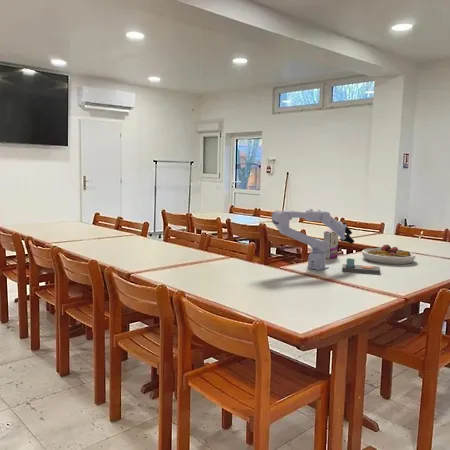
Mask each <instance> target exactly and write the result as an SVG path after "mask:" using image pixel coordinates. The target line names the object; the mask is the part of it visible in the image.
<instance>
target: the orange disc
mask: <svg viewBox="0 0 450 450" xmlns="http://www.w3.org/2000/svg"><path fill="white" fill-rule="evenodd" d="M372 266H373V265H363V266H361V268H364V269H375V267H372Z"/></svg>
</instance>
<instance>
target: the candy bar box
mask: <svg viewBox="0 0 450 450" xmlns="http://www.w3.org/2000/svg"><path fill="white" fill-rule="evenodd" d="M323 241H327V242H328V244H329V248H328V250H327V251H326V259H327V260H332V259H334V258H336V257H338V252H339V250H338V248H339V236H338V235H337V233H336V232H334V231H333V230H331V229H330V230H327V231H323Z"/></svg>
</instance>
